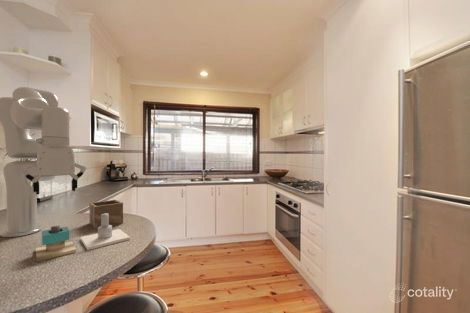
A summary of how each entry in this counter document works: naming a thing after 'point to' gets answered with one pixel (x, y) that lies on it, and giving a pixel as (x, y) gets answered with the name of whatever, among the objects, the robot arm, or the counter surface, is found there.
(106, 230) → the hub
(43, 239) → the teal square frame
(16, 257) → the counter surface
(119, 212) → the tool caddy
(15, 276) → the counter surface
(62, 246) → the stand
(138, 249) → the counter surface
